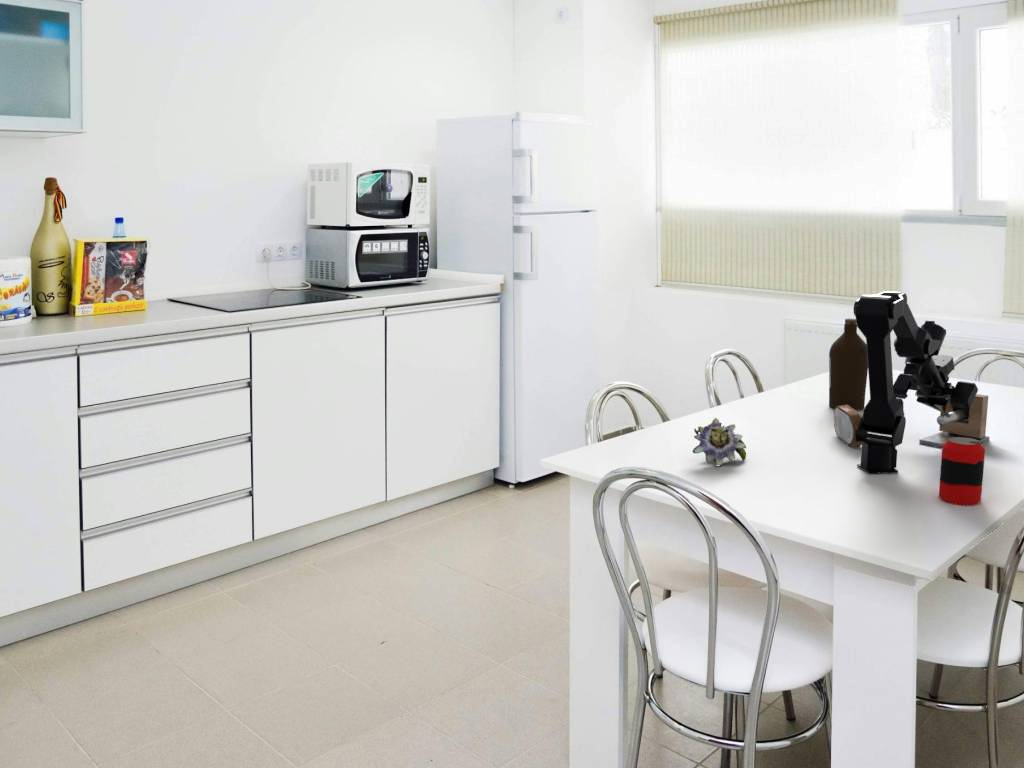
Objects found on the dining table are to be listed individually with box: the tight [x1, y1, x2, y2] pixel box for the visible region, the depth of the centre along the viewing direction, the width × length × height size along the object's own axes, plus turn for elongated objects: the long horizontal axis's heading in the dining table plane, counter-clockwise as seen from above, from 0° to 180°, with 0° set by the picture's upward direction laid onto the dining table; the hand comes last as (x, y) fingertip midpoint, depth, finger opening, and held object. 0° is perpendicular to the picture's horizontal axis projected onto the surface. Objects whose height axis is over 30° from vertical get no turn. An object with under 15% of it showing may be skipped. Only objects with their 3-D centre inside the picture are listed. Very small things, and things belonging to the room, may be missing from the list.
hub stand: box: [918, 394, 991, 449], centre depth 229 cm, size 14×10×11 cm
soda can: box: [938, 437, 986, 506], centre depth 186 cm, size 8×8×12 cm
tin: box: [833, 405, 862, 447], centre depth 231 cm, size 15×3×8 cm, turn 179°
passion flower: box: [692, 417, 747, 466], centre depth 217 cm, size 11×11×12 cm
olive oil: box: [828, 318, 869, 411], centre depth 266 cm, size 11×11×25 cm
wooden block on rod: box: [938, 393, 989, 438], centre depth 230 cm, size 2×10×10 cm, turn 39°
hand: (943, 410), depth 231 cm, fingers closed
